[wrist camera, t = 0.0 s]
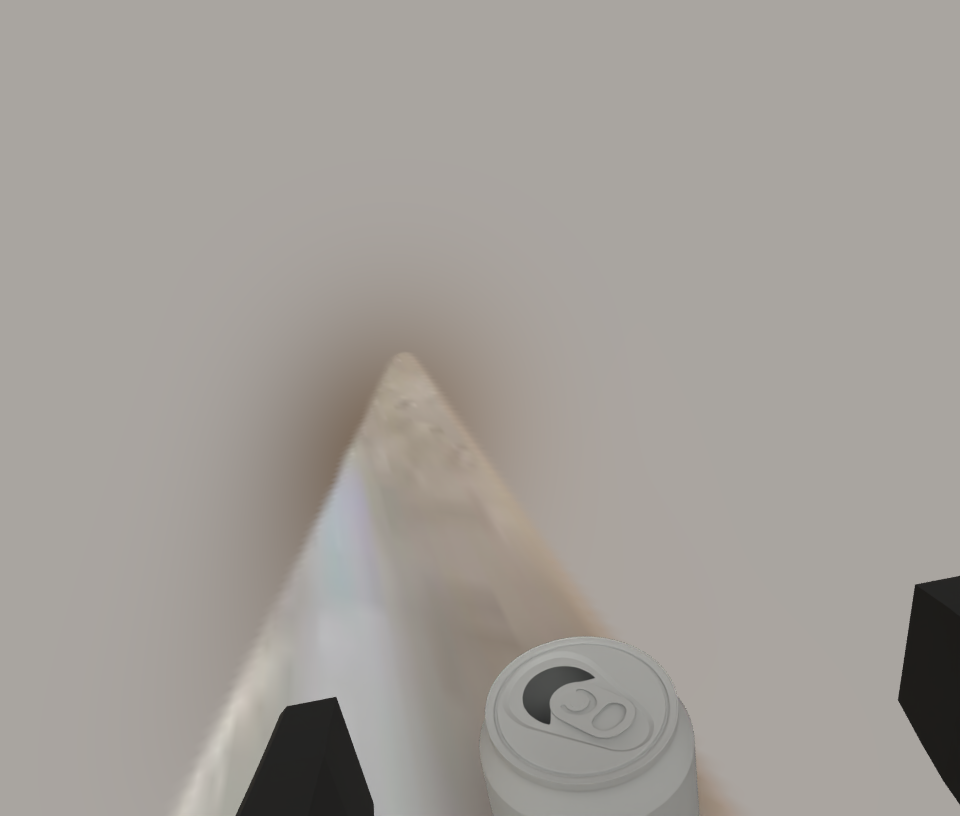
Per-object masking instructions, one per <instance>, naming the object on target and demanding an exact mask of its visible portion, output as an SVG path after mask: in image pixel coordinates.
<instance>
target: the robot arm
mask: <svg viewBox="0 0 960 816" xmlns="http://www.w3.org/2000/svg"><path fill="white" fill-rule="evenodd" d="M898 701H899V703H900V705H901V706H902V708H903V710H904V712H905V714H906V716H907V717H908V719H909V721H910V723H911V725H912V727H913V728H914V730H915V732H916V734H917V736H918V738H919V740H920V741H921V743H922V745H923V747H924V748H925V750H926V752H927V754H928V755H929V757H930V759H931V760H932V762H933V764H934V766H935V767H936V769H937V771H938V773H939V774H940V776H941V778H942V779H943V781H944V782H945V784H946V785H947V787H948V788H949V790H950V791H951V793H952V794H953V795H954V797H955V798H956V800H957V801H958V803H959V804H960V576H958V577H952V578H947V579H942V580H937V581H931V582H926V583H921V584H916V585H915V589H914V596H913V603H912V609H911V616H910V623H909V630H908V636H907V643H906V650H905V657H904V664H903V670H902V677H901V684H900V690H899V697H898ZM236 816H374V804H373V800H372V798H371V795H370V792H369V789H368V786H367V783H366V780H365V778H364V775H363V772H362V769H361V766H360V763H359V760H358V758H357V755H356V752H355V749H354V746H353V743H352V741H351V738H350V735H349V732H348V729H347V726H346V723H345V721H344V718H343V715H342V712H341V709H340V706H339V703H338V701H337V698H336V697H333V698H328V699H323V700H318V701H313V702H308V703H302V704H297V705H292V706H287V707H286V708H285V709H284V711H283V712H282V713H281V714H280V716H279V719H278V721H277V723H276V726H275V728H274V731H273V733H272V735H271V738H270V740H269V742H268V745H267V747H266V749H265V752H264V754H263V756H262V759H261V761H260V763H259V766H258V768H257V770H256V772H255V775H254V777H253V779H252V781H251V783H250V786H249V788H248V790H247V792H246V794H245V797H244V799H243V801H242V803H241V805H240V807H239V809H238V812H237V814H236Z"/></svg>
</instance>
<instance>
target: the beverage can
mask: <svg viewBox="0 0 960 816" xmlns="http://www.w3.org/2000/svg"><path fill="white" fill-rule="evenodd" d="M479 752H480V759H481V764H482V768H483V773H484V777H485V782H486V786H487V791H488V795H489V800H490V805H491V809H492V814H493V816H699V801H698V786H697V771H696V756H695V741H694V731H693V726H692V723H691V719H690V717H689V715H688V712H687V710H686V708H685V706H684V705H683V703H682V702H681V700H680V699H679V697H678V696H677V693H676V690H675V687H674V684H673V682H672V680H671V678H670V677H669V675H668V674H667V672H666V671H665V670H664V669H663V667H662V666H661V665H660V664H659V663H658V662H656V661H655V660H654V659H653V658H652V657H650V656H649V655H648V654H646V653H645V652H643V651H641V650H640V649H637V648H636V647H634V646H631V645H629V644H626V643H624V642H620V641H617V640H613V639H608V638H602V637H591V636H584V637H570V638H563V639H558V640H554V641H551V642H548V643H545V644H542V645H539V646H537V647H534V648H532V649H530V650H528V651H527V652H525V653H523V654H521V655H520V656H518V657H517V658H516V659H514V660H513V661H512V662H511V663H510V664H508V665H507V666H506V667H505V668H504V670H503V671H502V672H501V673H500V674H499V675H498V677H497V678H496V680H495V681H494V683H493V685H492V687H491V689H490V691H489V694H488V697H487V701H486V707H485V720H484V722H483V725H482V729H481V734H480V740H479Z"/></svg>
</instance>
